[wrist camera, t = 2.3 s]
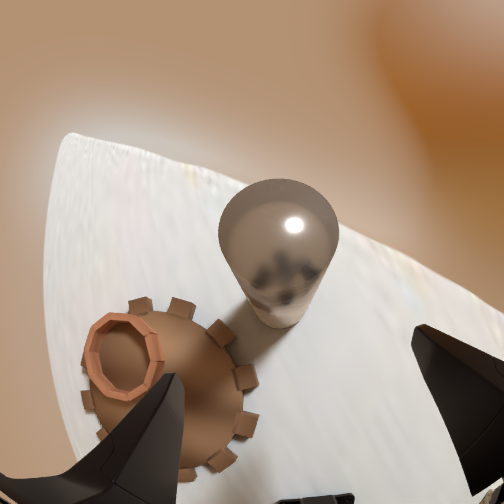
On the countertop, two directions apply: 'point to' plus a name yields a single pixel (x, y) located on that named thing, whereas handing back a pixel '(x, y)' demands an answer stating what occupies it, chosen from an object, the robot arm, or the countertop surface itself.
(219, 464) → the sprocket
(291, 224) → the drive pin
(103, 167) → the countertop surface
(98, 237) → the countertop surface
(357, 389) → the countertop surface
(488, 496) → the coffee box
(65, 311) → the countertop surface
